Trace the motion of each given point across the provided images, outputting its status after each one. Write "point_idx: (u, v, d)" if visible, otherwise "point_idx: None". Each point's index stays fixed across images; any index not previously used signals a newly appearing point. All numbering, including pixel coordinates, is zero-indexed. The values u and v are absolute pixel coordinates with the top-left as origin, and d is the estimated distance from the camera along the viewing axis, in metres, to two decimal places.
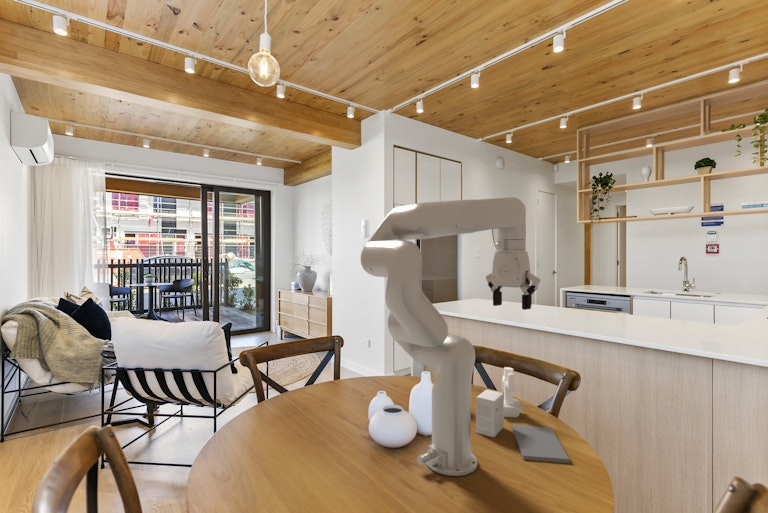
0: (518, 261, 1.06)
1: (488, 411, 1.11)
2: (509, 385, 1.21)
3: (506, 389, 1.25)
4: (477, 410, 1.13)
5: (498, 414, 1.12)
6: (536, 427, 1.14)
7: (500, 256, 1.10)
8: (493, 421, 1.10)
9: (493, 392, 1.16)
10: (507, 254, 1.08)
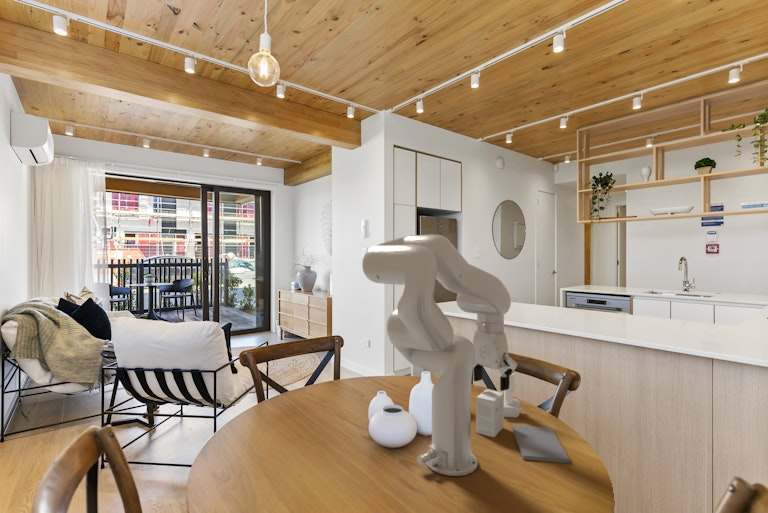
0: (496, 345, 1.10)
1: (488, 411, 1.11)
2: (509, 385, 1.21)
3: None
4: (477, 410, 1.13)
5: (498, 414, 1.12)
6: (536, 427, 1.14)
7: (479, 336, 1.14)
8: (493, 421, 1.10)
9: (493, 392, 1.16)
10: (486, 336, 1.12)
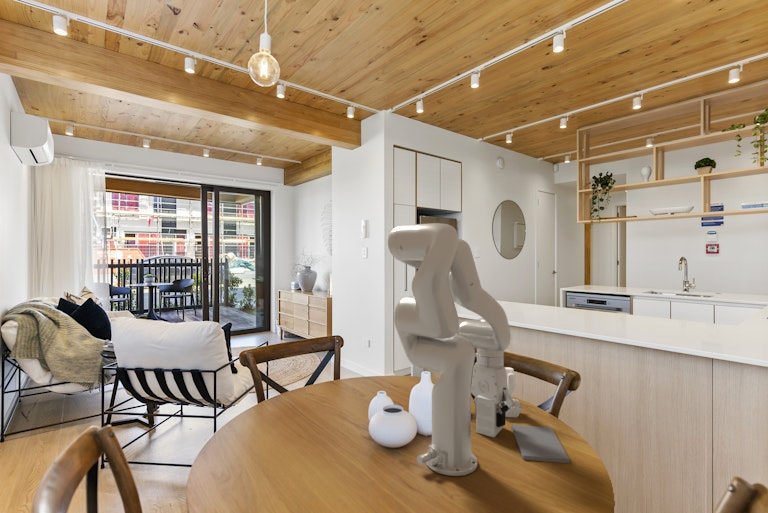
0: (496, 380, 1.10)
1: (488, 411, 1.11)
2: (509, 385, 1.21)
3: None
4: (477, 410, 1.13)
5: None
6: (536, 427, 1.14)
7: (479, 370, 1.14)
8: (493, 421, 1.10)
9: None
10: (486, 370, 1.12)
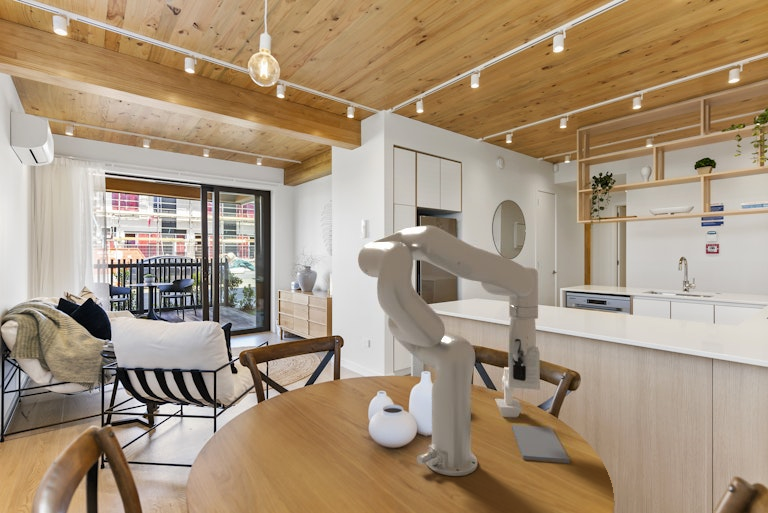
0: None
1: None
2: None
3: (506, 389, 1.25)
4: None
5: None
6: (536, 427, 1.14)
7: None
8: None
9: (533, 348, 1.08)
10: None
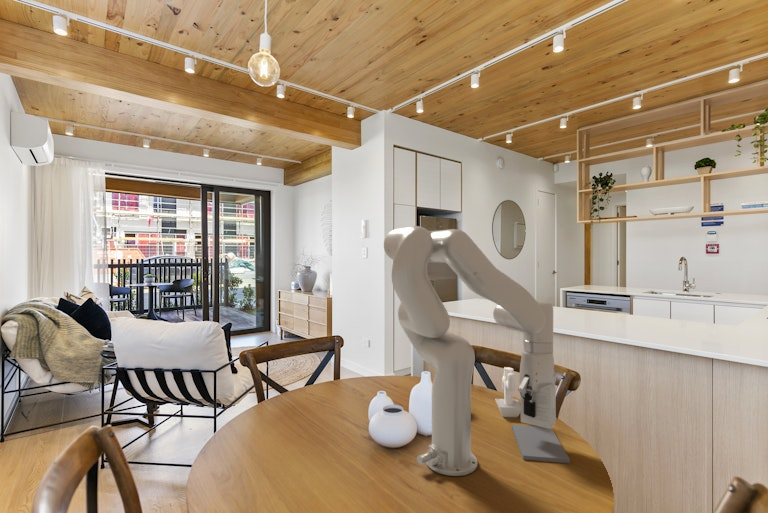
0: None
1: None
2: (509, 385, 1.21)
3: (506, 389, 1.25)
4: None
5: None
6: (536, 427, 1.14)
7: None
8: None
9: (547, 385, 1.05)
10: None
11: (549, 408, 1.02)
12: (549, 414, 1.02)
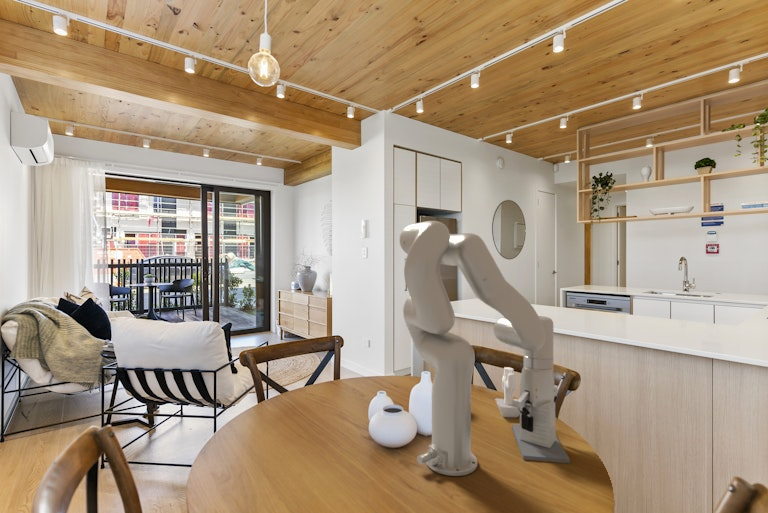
0: None
1: None
2: (509, 385, 1.21)
3: (506, 389, 1.25)
4: None
5: None
6: None
7: None
8: None
9: (546, 404, 1.05)
10: None
11: (548, 427, 1.02)
12: (548, 433, 1.02)
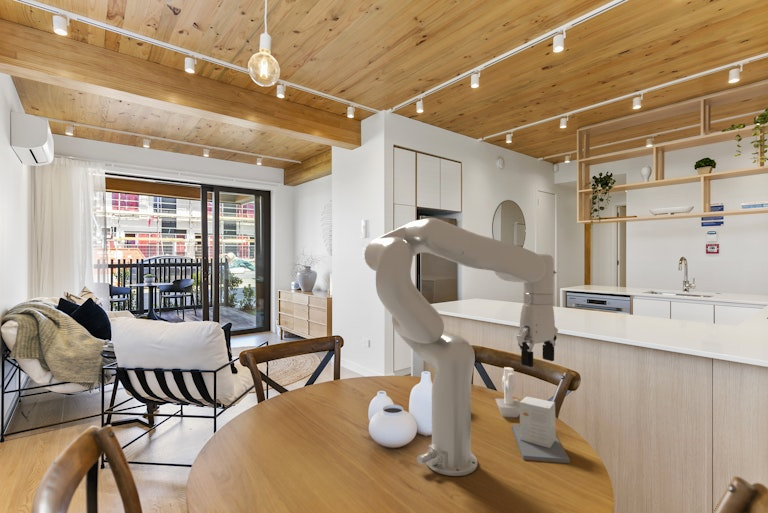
0: None
1: None
2: (509, 385, 1.21)
3: (506, 389, 1.25)
4: None
5: (532, 422, 1.04)
6: None
7: None
8: None
9: (546, 404, 1.05)
10: None
11: (548, 427, 1.02)
12: (548, 433, 1.02)
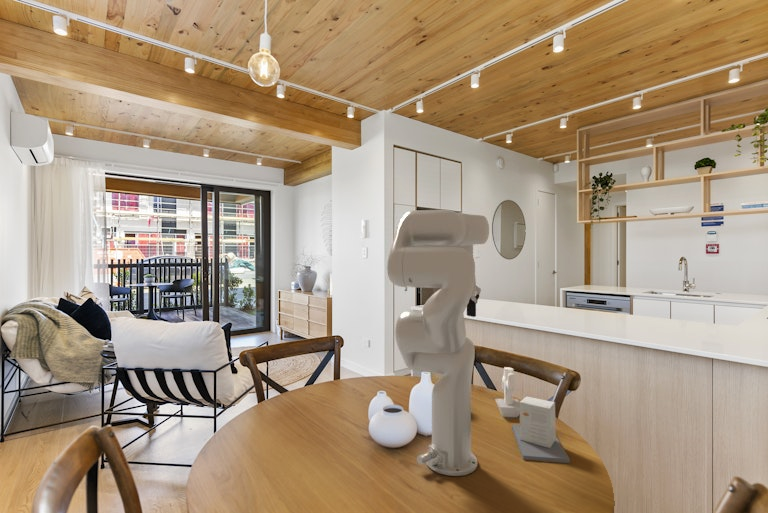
0: None
1: None
2: (509, 385, 1.21)
3: (506, 389, 1.25)
4: None
5: (532, 422, 1.04)
6: None
7: None
8: None
9: (546, 404, 1.05)
10: None
11: (548, 427, 1.02)
12: (548, 433, 1.02)
